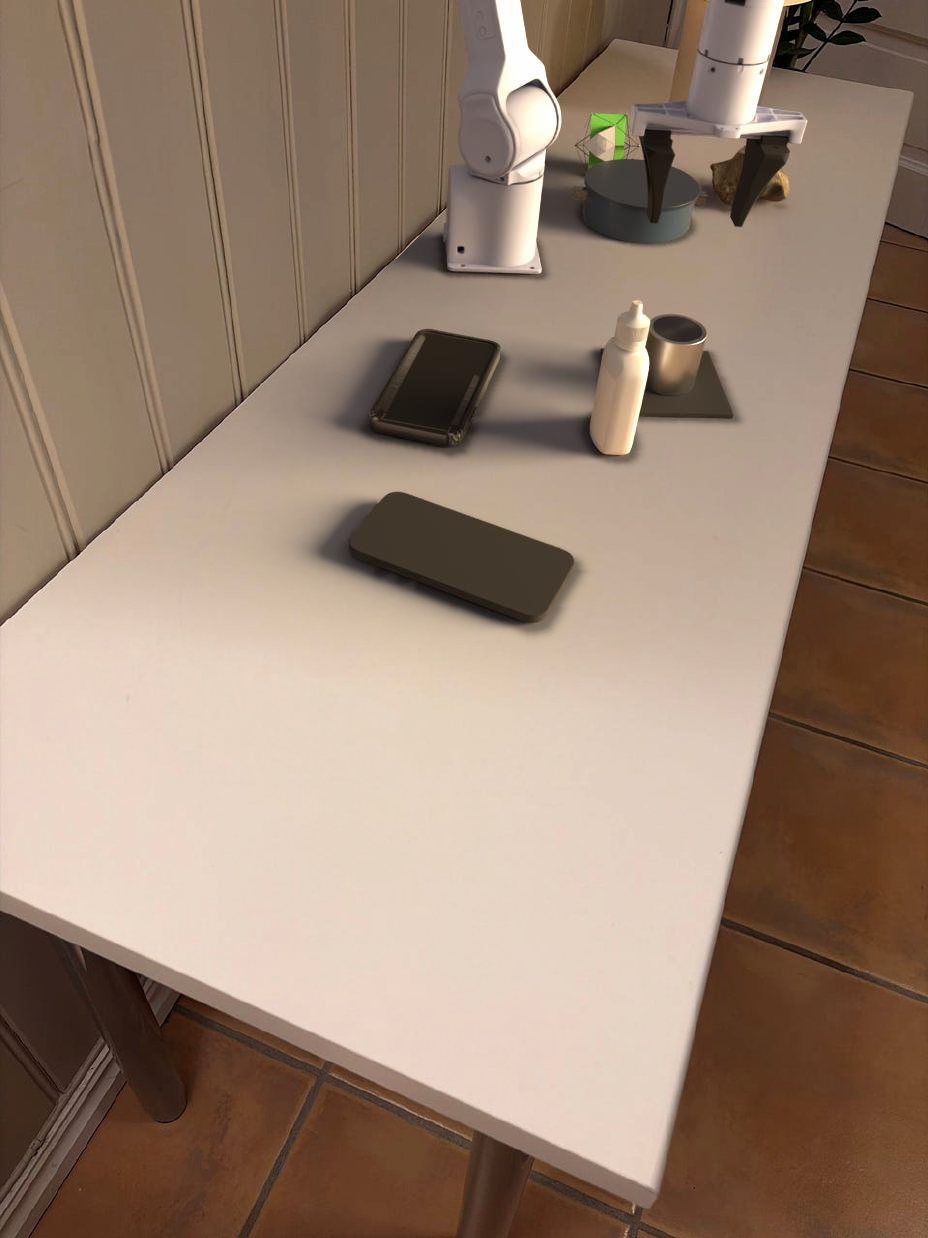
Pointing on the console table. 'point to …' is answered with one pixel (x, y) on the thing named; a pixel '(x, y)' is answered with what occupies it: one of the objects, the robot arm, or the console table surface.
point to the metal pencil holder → (674, 353)
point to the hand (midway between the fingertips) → (694, 220)
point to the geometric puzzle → (606, 138)
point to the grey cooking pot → (636, 202)
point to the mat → (691, 397)
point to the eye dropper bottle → (621, 383)
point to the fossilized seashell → (729, 176)
